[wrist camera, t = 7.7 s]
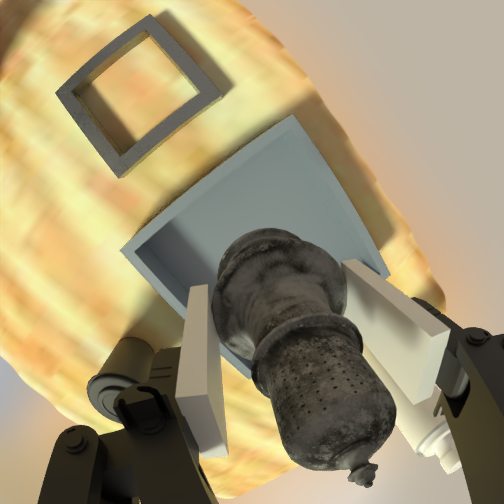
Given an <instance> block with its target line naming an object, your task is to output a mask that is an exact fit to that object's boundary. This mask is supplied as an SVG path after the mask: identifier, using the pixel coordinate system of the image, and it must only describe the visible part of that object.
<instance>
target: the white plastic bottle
mask: <svg viewBox="0 0 504 504" xmlns="http://www.w3.org/2000/svg"><path fill="white" fill-rule="evenodd" d="M363 346H364V348H363V354H362V355H363V357H364V358H365V359H366V361H367V362H368V363H369V365H370V366H371V367H372V369H373V370H374V371H375V373H376V374H377V375H378V377H379V378H380V379H381V381H382V382H383V383H384V385H385V386H386V388H387V389H388V390H389V392H390V393H391V395H392V397H393V399H394V402H395V405H396V408H397V415H396V421H395V423H396V424H397V426H398V427H399V429H400V430H401V432H402V433H403V435H404V436H405V438H406V439H407V440H408V442H409V444H410V445H411V446H412V448H413V450H414V451H415V452H416V454H417V455H418V456H419V457H422V456H426V457H430V456H433V455H435V454H436V455H437V456H438V457H439V459H440V464H441V466H442V467H443V468H444V470H445V471H446V473H447V474H450V473H452V472H454V471H456V470H457V469H458V468H460V467H461V466H462V465H461V462H460V458H459V455H458V452H457V449H456V446H455V443H454V440H453V437H452V434H451V431H450V429H449V426H448V423H447V420H446V418H445V415H442V416H440V414H441V411H442V407H440V410H439V412H438V414H437V417H434V416H433V412H434V409H435V407H436V404H437V401H438V399H439V396H440V393H441V391H440V390H439V389H438V388H437V387H436V386H435V387H434V390H433V393H432V396H431V397H429V398H427V399H425V400H423V401H421V402H419V403H417V404H414V405H413V404H412V403H411V401H410V400H409V399H408V397H407V396H406V395H405V394H404V392H403V391H402V390H401V388H400V387H399V386H398V385H397V383H396V382H395V381H394V380H393V378H392V377H391V376H390V374H389V373H388V372H387V371H386V369H385V368H384V367H383V366H382V364H381V363H380V362H379V361H378V359H377V358H376V357H375V356H374V354H373V353H372V352H371V351H370V349H369V348H368V347H367V346H366V344H365V343H364V342H363Z"/></svg>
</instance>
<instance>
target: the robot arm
mask: <svg viewBox="0 0 504 504" xmlns="http://www.w3.org/2000/svg"><path fill="white" fill-rule="evenodd" d="M341 270H342V272H343V274H344V275H345V280H346V285H347V290H348V294H347V307H346V310H345V313H344V315H343V316H344V317H346V318H348V319H349V320H350V321H351V322H352V323H354V324H355V325H356V326H357V328H358V330H359V331H360V333H361V335H362V339H363V342H364V343H365V344H366V346H367V347H368V348H369V349H370V351H371V352H372V353H373V354H374V356H375V357H376V358H377V359H378V361H379V362H380V363H381V364H382V366H383V367H384V368H385V369H386V371H387V372H388V373H389V374H390V376H391V377H392V378H393V380H394V381H395V382H396V383H397V385H398V386H399V387H400V388H401V390H402V391H403V392H404V394H405V395H406V396H407V397H408V399H409V400H410V401H411V403H412V404H413V405H414V404H417V403H419V402H421V401H423V400H425V399H427V398H429V397H431V396H432V393H433V390H434V387H435V384H437V385H438V387H439V388H440V389H441V390H442V391H441V393H440V396H439V399H438V401H437V404H436V407H435V409H434V412H433V416H434V417H437V414H438V412H439V410H440V407H442V411H441V414H440V416H442V415H445V418H446V420H447V423H448V426H449V429H450V431H451V434H452V437H453V440H454V443H455V446H456V449H457V452H458V455H459V458H460V462H461V465H462V468H463V471H464V475H465V479H466V482H467V486H468V490H469V494H470V497H471V501H472V504H504V334H500V335H495V336H492V335H491V334H490V333H489V332H488V331H486V330H484V329H481V328H476V327H471V328H466V329H462V328H461V327H460V326H458V325H457V324H456V323H454V322H453V321H452V320H451V319H449V318H448V317H447V316H445V315H444V314H441V312H440V311H438V310H437V309H434V307H433V306H432V305H430V304H429V303H427V302H426V301H424V300H421V299H418V298H415V297H413V298H409V297H408V296H407V295H405V294H404V293H403V292H401V291H400V290H399V289H397V288H396V287H395V286H393V285H392V284H390V283H389V282H388V281H386V280H385V279H384V278H382V277H381V276H379V275H378V274H377V273H375V272H374V271H372V270H371V269H370V268H368V267H367V266H365V265H364V264H363V263H361V262H360V261H358V260H357V259H351V260H345V261H341ZM211 305H212V302H211V297H210V292H209V287H208V284H205V285H199V286H192V287H190V292H189V298H188V305H187V311H186V318H185V324H184V331H183V338H182V346H181V347H175V348H166V349H160V351H159V352H158V353H157V354H156V355H155V357H154V358H153V360H152V364H151V368H150V370H151V371H150V372H149V376H148V378H149V379H148V380H147V383H139V384H134V385H132V386H129V387H127V388H125V389H124V390H123V391H121V392H120V393H119V394H118V395H117V397H116V398H115V399H114V403H113V409H114V411H115V412H116V414H117V416H118V417H119V419H120V421H121V422H122V424H123V426H124V427H125V428H124V429H121V430H118V431H115V432H111V433H106V434H102V435H98V434H97V433H96V431H95V430H94V429H92V428H91V427H89V426H85V425H77V426H72V427H70V428H68V429H66V430H64V432H62V433H61V434H60V435H59V437H58V439H57V441H56V443H55V446H54V449H53V452H52V455H51V458H50V461H49V464H48V467H47V471H46V474H45V477H44V481H43V485H42V488H41V492H40V496H39V500H38V504H139V499H140V502H141V504H219V503H218V501H217V499H216V497H215V495H214V493H213V491H212V489H211V487H210V484H209V482H208V480H207V478H206V476H205V474H204V471H203V469H202V467H201V465H200V464H199V452H200V454H201V456H202V458H203V459H205V458H216V457H225V456H229V453H228V443H227V432H226V422H225V410H224V398H223V386H222V372H221V358H220V342H219V335H218V333H217V330H216V328H215V324H214V319H213V314H212V309H211Z"/></svg>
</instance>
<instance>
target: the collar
mask: <svg viewBox="0 0 504 504" xmlns="http://www.w3.org/2000/svg"><path fill="white" fill-rule="evenodd" d="M147 37H150V38H151V39H152V40H153V42H154V43H155V44H156V45H157V46H158V47H159V48H160V49H161V51H162V52H163V53H164V54H165V55H166V56H167V57H168V58H169V60H170V61H171V62H172V63H173V64H174V65H175V66H176V68H177V69H178V70H179V71H180V72H181V73H182V75H183V76H184V77H185V78H186V79H187V81H188V82H189V83H190V84H191V85H192V86H193V88H194V89H195V90H196V91H197V92H198V95H197V96H195V97H194V98H192V99H191V100H190V101H188V102H187V103H186V104H184V105H183V106H182V107H180V108H179V109H178V110H176V111H175V112H174V113H172V114H171V115H170V116H169V117H167V118H166V119H165V120H164V121H162V122H161V123H160V124H159V125H157V126H156V127H155V128H154V129H152V130H151V131H150V132H149V133H148V134H146V135H145V136H144V137H143V138H142V139H141V140H139V141H138V142H137V143H136V144H135V145H134V146H133V147H131V148H130V149H129V150H128V151H127V152H126V153H125V154H124V155H123V153H122V152H121V151H120V149H119V148H118V147H117V146H116V144H115V143H114V142H113V140H112V139H111V138H110V137H109V135H108V134H107V133H106V131H105V130H104V129H103V127H102V126H101V125H100V123H99V122H98V121H97V120H96V118H95V117H94V116H93V114H92V113H91V112H90V110H89V109H88V108H87V106H86V105H85V103H84V102H83V101H82V99H81V98H80V97H79V94H80V93H81V92H82V91H83V90H84V89H85V88H86V87H87V86H88V85H89V84H90V83H91V82H92V81H93V80H95V79H96V78H97V77H98V76H99V75H100V74H101V73H103V72H104V71H105V70H106V69H107V68H108V67H110V66H111V65H112V64H113V63H114V62H116V61H117V60H118V59H119V58H121V57H122V56H123V55H124V54H126V53H127V52H128V51H130V50H131V49H132V48H134V47H135V46H136V45H138V44H139V43H140V42H142V41H143V40H145V39H146V38H147ZM55 94H56V95H57V97H58V98H59V99H60V101H61V102H62V104H63V105H64V107H65V108H66V109H67V111H68V112H69V114H70V115H71V116H72V118H73V119H74V121H75V122H76V123H77V125H78V126H79V127H80V129H81V130H82V132H83V133H84V134H85V136H86V137H87V138H88V140H89V141H90V142H91V144H92V145H93V146H94V148H95V149H96V150H97V152H98V153H99V154H100V156H101V157H102V158H103V159H104V161H105V162H106V163H107V165H108V166H109V167H110V169H111V170H112V171H113V172H114V174H115V175H116V176H117V177H118V179H119V178H124V177H125V176H126V175H127V174H128V173H129V172H131V171H132V170H133V169H134V168H135V167H136V166H137V165H138V164H139V163H141V162H142V161H143V160H144V159H145V158H146V157H147V156H149V155H150V154H151V153H152V152H153V151H154V150H156V149H157V148H158V147H159V146H160V145H162V144H163V143H164V142H165V141H167V140H168V139H169V138H170V137H171V136H173V135H174V134H175V133H177V132H178V131H179V130H180V129H182V128H183V127H184V126H185V125H187V124H188V123H189V122H191V121H192V120H193V119H195V118H196V117H197V116H199V115H200V114H201V113H203V112H204V111H206V110H207V109H208V108H210V107H211V106H213V105H214V104H215V103H217V102H218V101H220V100H221V99H222V94H221V93H220V91H219V90H218V89H217V88H216V87H215V85H214V84H213V83H212V82H211V81H210V79H209V78H208V77H207V76H206V75H205V74H204V72H203V71H202V70H201V69H200V68H199V67H198V65H197V64H196V63H195V62H194V61H193V60H192V58H191V57H190V56H189V55H188V54H187V53H186V52H185V51H184V49H183V48H182V47H181V46H180V45H179V44H178V43H177V42H176V41H175V40H174V38H173V37H172V36H171V35H170V34H169V33H168V32H167V31H166V30H165V29H164V28H163V27H162V26H161V25H160V23H159V22H158V21H157V20H156V19H155V18H154V17H153V16H152V15H151V14H149V15H148V16H146V17H145V18H143V19H142V20H140V21H139V22H137V23H136V24H135V25H133V26H132V27H130V28H129V29H128V30H126V31H125V32H123V33H122V34H121V35H119V36H118V37H117V38H115V39H114V40H113V41H112V42H110V43H109V44H108V45H107V46H105V47H104V48H103V49H102V50H100V51H99V52H98V53H97V54H96V55H95V56H93V57H92V58H91V59H90V60H89V61H88V62H87V63H85V64H84V65H83V66H82V67H81V68H80V69H79V70H78V71H77V72H76V73H75V74H74V75H72V76H71V77H70V78H69V79H68V80H67V81H66V82H65V83H64V84H63V85H62V86H61V87H60V88H59V89H58V90H57V91H56V92H55Z"/></svg>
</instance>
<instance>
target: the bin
mask: <svg viewBox="0 0 504 504" xmlns="http://www.w3.org/2000/svg"><path fill="white" fill-rule="evenodd" d="M262 228H277V229H282V230H286V231H289V232H291V233H293V234H295V235H297V236H298V237H299V238H300V239H301V240H303V241H308V242H310V243H312V244H314V245H316V246H318V247H320V248H322V249H324V250H326V251H327V252H328V253H329V254H330V255H331V256H332V257H333V258H334V259H335V260H336V261H337V262H338V264H339V266H340V268H341V261H345V260H351V259H357V260H358V261H360V262H361V263H363V264H364V265H365V266H367V267H368V268H370V269H371V270H372V271H374V272H375V273H377V274H378V275H379V276H381V277H382V278H384V279H386V278H387V277H389V276H390V275H391V274H390V272H389V270H388V268H387V266H386V264H385V262H384V260H383V258H382V257H381V255H380V253H379V251H378V249H377V247H376V245H375V243H374V241H373V240H372V238H371V236H370V234H369V232H368V230H367V229H366V227H365V225H364V223H363V222H362V220H361V218H360V216H359V215H358V213H357V211H356V209H355V208H354V206H353V204H352V203H351V201H350V199H349V198H348V196H347V194H346V193H345V191H344V189H343V188H342V186H341V185H340V183H339V181H338V180H337V178H336V177H335V175H334V173H333V172H332V170H331V169H330V167H329V166H328V164H327V163H326V161H325V160H324V158H323V157H322V155H321V154H320V152H319V151H318V149H317V148H316V146H315V145H314V143H313V142H312V140H311V139H310V137H309V136H308V135H307V133H306V132H305V130H304V129H303V127H302V126H301V125H300V123H299V122H298V121H297V119H296V118H295V116H294V115H293V114H292V115H290V116H288V117H286V118H284V119H283V120H281V121H279V122H278V123H276V124H275V125H273V126H272V127H270V128H269V129H268V130H266V131H265V132H263V133H262V134H260V135H259V136H258V137H256V138H255V139H253V140H252V141H251V142H249V143H248V144H246V145H245V146H244V147H242V148H241V149H240V150H238V151H237V152H236V153H234V154H233V155H232V156H230V157H229V158H228V159H226V160H225V161H224V162H222V163H221V164H220V165H218V166H217V167H216V168H214V169H213V170H212V171H211V172H209V173H208V174H207V175H205V176H204V177H203V178H202V179H200V180H199V181H198V182H197V183H195V184H194V185H193V186H192V187H190V188H189V189H188V190H187V191H185V192H184V193H183V194H182V195H181V196H179V197H178V198H177V199H176V200H175V201H173V202H172V203H171V204H170V205H169V206H167V207H166V208H165V209H164V210H163V211H162V212H160V213H159V214H158V215H157V216H156V217H155V218H153V219H152V220H151V221H150V222H149V223H148V224H147V225H145V226H144V227H143V228H142V229H141V230H140V231H139V232H138V233H136V234H135V235H134V236H133V237H132V238H131V239H130V240H129V241H128V242H127V243H126V244H125V245H124V246H123V247H122V249H121V250H120V251H121V252H122V253H123V255H124V256H125V257H126V258H127V259H128V260H129V261H130V263H131V264H132V265H133V266H134V267H135V268H136V269H137V270H138V272H139V273H140V274H141V275H142V276H143V277H144V278H145V279H146V280H147V281H148V282H149V284H150V285H151V286H152V287H153V288H154V289H155V290H156V291H157V292H158V293H159V294H160V295H161V296H162V297H163V298H164V299H165V301H166V302H167V303H168V304H169V305H170V306H171V307H172V308H173V309H174V310H175V311H176V312H177V313H178V314H179V315H180V316H181V317H182V318H183V319H184V320H185V318H186V311H187V305H188V298H189V292H190V287H192V286H199V285H205V284H208V287H209V292H210V297H211V302H212V299H213V293H214V288H215V286H216V284H217V282H218V281H217V273H218V268H219V263H220V261H221V259H222V257H223V255H224V253H225V251H226V250H227V249H228V248H229V247H230V245H231V244H232V243H233V242H234V241H235V240H237V239H238V238H240V237H241V236H243V235H244V234H246V233H248V232H251V231H254V230H257V229H262ZM219 342H220V354H221V355H222V356H223V357H224V358H225V359H226V360H227V361H228V362H230V363H231V364H232V365H233V366H234V367H235V368H236V369H237V370H238V371H240V372H241V373H242V374H243V375H244V376H245V377H246V378H248V379H251V378H252V377H251V362H252V361H251V360H248V359H245V358H243V357H241V356H240V355H238V354H237V353H235V352H233V351H232V350H230V349H229V347H228V346H227V345H226V344H225V343H224V342H223V341H222V340H221V339H220V337H219Z"/></svg>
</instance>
